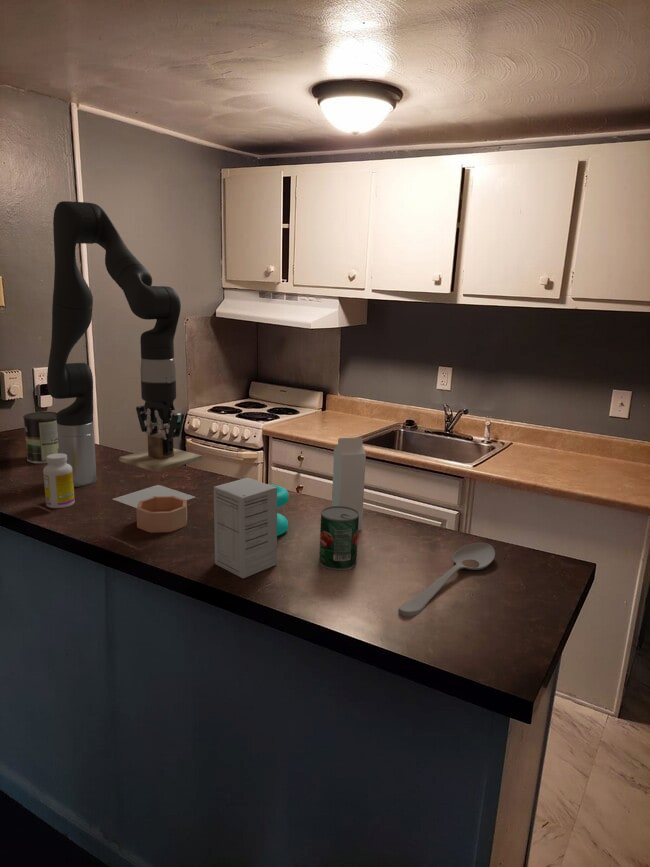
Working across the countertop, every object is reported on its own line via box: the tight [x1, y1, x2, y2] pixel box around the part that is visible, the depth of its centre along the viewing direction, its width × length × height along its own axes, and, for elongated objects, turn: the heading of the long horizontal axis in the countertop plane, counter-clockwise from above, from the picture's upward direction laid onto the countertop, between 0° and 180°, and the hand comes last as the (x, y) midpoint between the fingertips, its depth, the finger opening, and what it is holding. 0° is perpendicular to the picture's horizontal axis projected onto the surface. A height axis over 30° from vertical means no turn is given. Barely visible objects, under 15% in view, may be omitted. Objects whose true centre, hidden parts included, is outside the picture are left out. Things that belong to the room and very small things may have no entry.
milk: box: [331, 436, 367, 531], centre depth 141 cm, size 6×6×22 cm
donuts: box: [270, 484, 290, 537], centre depth 138 cm, size 10×10×10 cm
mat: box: [112, 484, 196, 509], centre depth 156 cm, size 15×15×1 cm
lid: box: [118, 431, 203, 473], centre depth 136 cm, size 13×13×6 cm
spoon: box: [397, 542, 496, 618], centre depth 119 cm, size 35×8×3 cm, turn 141°
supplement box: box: [213, 477, 278, 579], centre depth 120 cm, size 10×9×17 cm
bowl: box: [135, 496, 188, 534], centre depth 140 cm, size 11×11×5 cm
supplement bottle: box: [42, 453, 76, 509], centre depth 149 cm, size 7×7×13 cm
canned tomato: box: [318, 505, 359, 571], centre depth 124 cm, size 8×8×11 cm
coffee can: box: [22, 411, 59, 465], centre depth 185 cm, size 10×10×14 cm
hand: (161, 452), depth 137 cm, fingers closed on lid, 4 cm apart
